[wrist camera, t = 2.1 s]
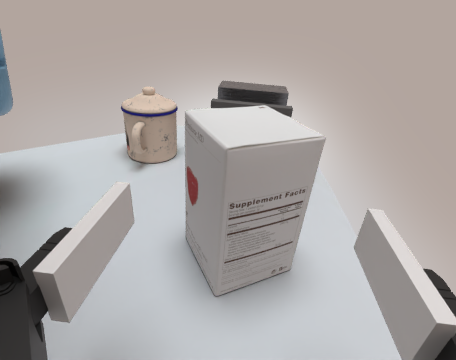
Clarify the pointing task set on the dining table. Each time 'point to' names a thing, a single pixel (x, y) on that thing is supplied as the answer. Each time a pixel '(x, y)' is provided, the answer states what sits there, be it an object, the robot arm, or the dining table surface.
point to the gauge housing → (253, 93)
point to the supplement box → (246, 191)
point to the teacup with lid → (150, 127)
